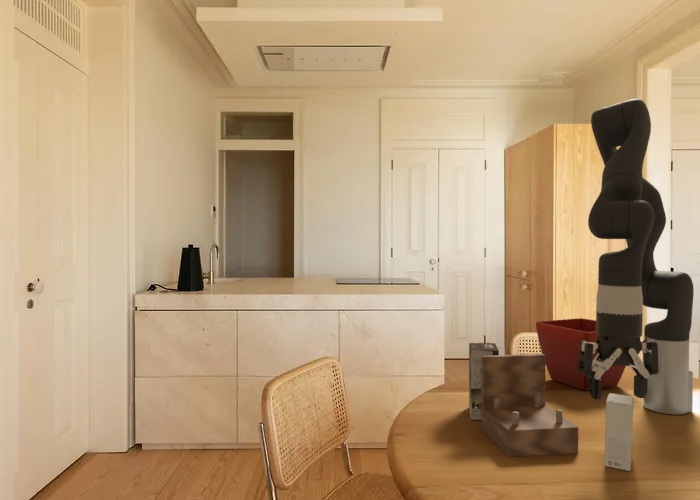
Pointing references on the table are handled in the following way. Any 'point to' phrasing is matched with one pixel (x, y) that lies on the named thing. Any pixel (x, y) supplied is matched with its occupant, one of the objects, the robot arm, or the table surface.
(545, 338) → the plant pot
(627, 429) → the skincare box
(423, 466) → the table surface
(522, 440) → the peg shelf stand
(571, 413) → the table surface
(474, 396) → the coffee box
